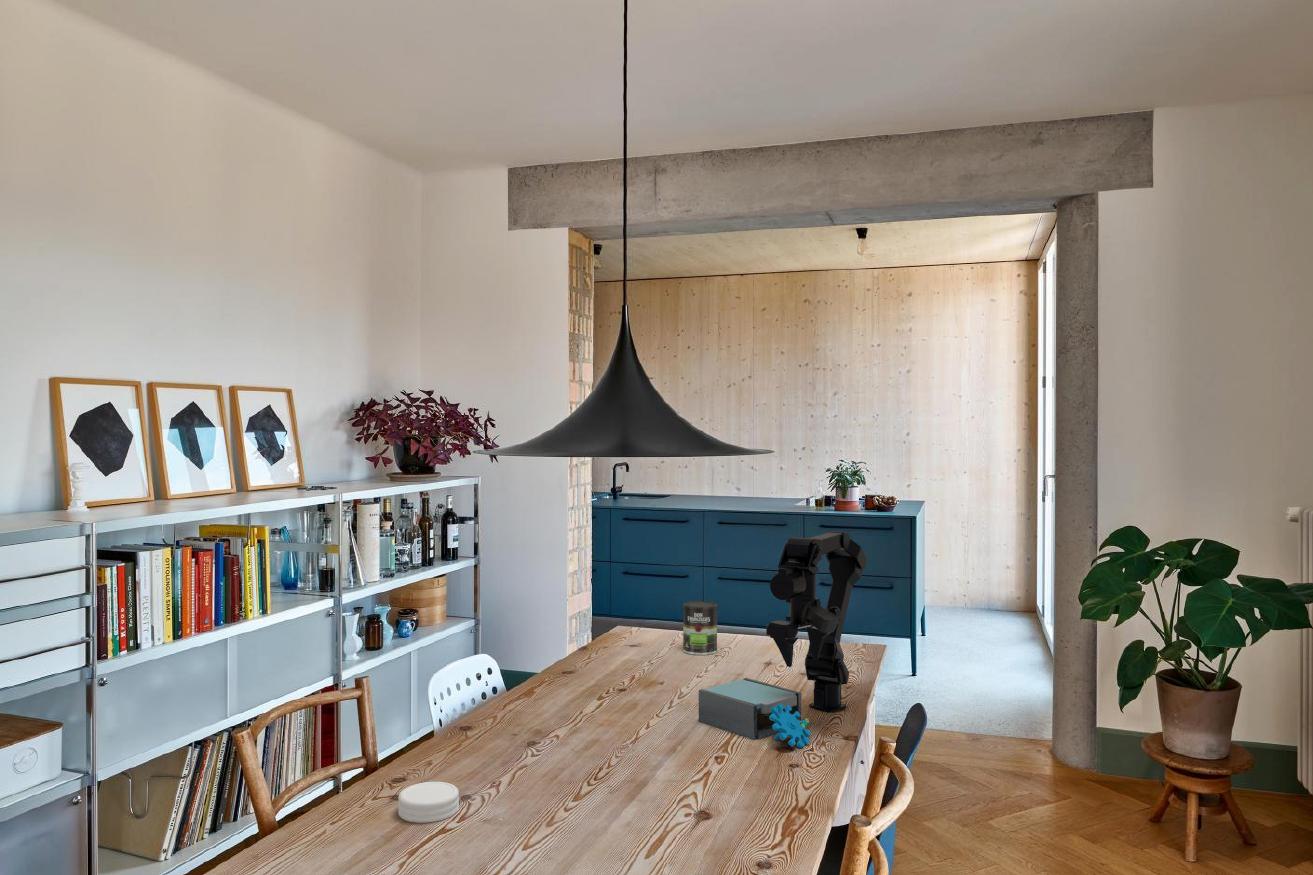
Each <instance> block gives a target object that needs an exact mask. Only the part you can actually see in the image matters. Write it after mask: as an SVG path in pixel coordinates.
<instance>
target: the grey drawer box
mask: <svg viewBox="0 0 1313 875" xmlns="http://www.w3.org/2000/svg"><path fill="white" fill-rule="evenodd" d="M743 680H747V681H751V682H754V683H758V684H762V685H766V686H770V687H774V688H778V689H781V690H785V691H789V692H793V693H796V696H797V705H795V706H792V707H791V708H792V710H791V711H790V712H789V713H790V714H794V713H795V712H796V711H798V712H799V714H800V715H801V716H800V717H799V718H798V720H800V721H802V692H801V691H797V690H793V689H789V688H786V687H782V686H779V685H775V684H770V683H767V682H763V681H759V680H757V679H751V678H749V677H745V678H743ZM703 689H704V688H703ZM703 689H702V688H701V689H698V722H700V723H703V724H705V725H709V726H711V727H714V728H718V729H721V730H723V731H727V732H730V733H733V734H736V735H739V736H742V737H745V738H748V739H751V740H753V741H754V740H756V739H757V740H760V739H763V738H766V737H769V736H772V735H776V734H778V733H779V732H780V730H777V731H775V730H774V729H773V726H772V725H770V726H765V727H763V728H760V729H758V714H760V715H764V716H766V717H767V716H768V717H770V715H771V714H772V713H769V714H764V713H761V708H759V709H757V705H754V704H750V703H747V702H744V701H740V700H737V699H733V698H730V697H727V696H723V695H720V694H716V693H713V692H710V691H706V690H703ZM783 711H784V712H785V709H783ZM778 713H779V711H778Z"/></svg>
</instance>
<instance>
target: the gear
mask: <svg viewBox="0 0 1313 875" xmlns="http://www.w3.org/2000/svg"><path fill="white" fill-rule="evenodd" d="M783 707H784V706H783V704H778V705H776V706H775V707H773V708H772V709H771V712H772V714H771V715H770V716H769V720H770V721H772V722H774V723H773V724H772V725H771V726H773V729H774V730H775V731H777V730H780V732H779V733H776V734H774V736H773V738H774V740H775V741H779V740H781V741H784V740H786V739H787V738H790V740H788V742H787V743H788V745H789V746H790V747H792V748H793V747H795V746H796V747H797V748H799V749H802V748H804V747H805V745H807V744H809V743H810V742H811V740H810V739H809V736H811V731H810V730H809V729H806V727H807V726H808V724H809V723H810V720H809V719H808V718H805V719H803V720H801V721H800V720H798V718H799V717H800V716H801V717H802V714H801V715H800V714H799V712H798V711H796V712H795V713H794V714H790V713H789V712H790V711H791V710H792V708H791V707H790V706H789V705H787V706H786V707H785V712H784V711H783ZM778 711H779V713H778Z"/></svg>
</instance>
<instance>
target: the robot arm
mask: <svg viewBox="0 0 1313 875" xmlns="http://www.w3.org/2000/svg"><path fill="white" fill-rule="evenodd" d="M824 555H825V559H826V560H827V562H828V570H829V573H830V576H831V579H832V582H831V585H830V586H831V587H830V589H829V590H830V591H829V594H828V600H827V603H826V608H825V607H823V606H822V601H821V598H818V597H816V596H817V595H816V594H817V593H816V591H817V590H816V588H817V587H816V586H817V584H816V583H817V581H816V580H817V578H816V577H817V574H816V573H817V572H819V570H820V568H819V567H818V564H819V562H820V561H821V560H822V559H823V556H824ZM866 557H867V556H866V555H865V552H864V550H863V549H862V546H860V545H859V544H858V543H856V542H855V541H854V540H853V539H852V538H851V536H850V535H849V533H847V532H846V531H840V530H839V531H838V530H837V531H836V530H830V531H827V532H825V533H823V534H819V535H815V536H812V537H797V536H795V537H794V536H791V537H789V538H788V539H787V541H786V542H785V545H784V547H783V550H782V553H781V556H780V558H779V562H778V566H777V568H778V571H777V572H778V573H777V574H774V576H773V577H772V578H771V580H770V583H769V588H770V592H771V594H772V595H773V597H774V598H776V599H777V600H780V601H785V603H789V615H786V616H785V620H781V619H779V620H774V621H769V622H768V623H767V624H766V625H765V632H766V633H765V634H766V636H769V638H770V639H773V641H774V643H775V644H776V647H777V648H778V650H779V652H780V655H781V656H782V658H783V661H784V663H785V665H786V667H787V668H792V666H793V660H794V646H795V643H796V642H797V641H798V640H799V637H797V635H798V633H799V631H802V630H806V631H807V637H808V641H809V645H808V650H807V653H806V655H805V658H804V667H805V673H806V679H807V681H813V686H814V688H813V702H811V703H808V707H811V708H814V709H817V710H821V711H825V712H829V713H833V712H834V711H835V712H836V711H838V710H839V711H840V710H841V709H844V708H847V704H845V703H842V685H847V684H848V681H849V679H850V672H849V669H848V668H847V666H846V664H845V662H844V660H845V659H844V658H845V656H844V652H843V649H842V646H841V644H840V643H841V640H842V639H841V637H842V634H843V628H844V625H845V620H846V615H847V612H848V606H849V602H850V598H851V595H852V594H851V593H852V589H853V587H854V585H855V584H857V583H858V582H859V581H860V579H861V578H862V575H863V573H864V570H865V568H866V566H867V558H866Z"/></svg>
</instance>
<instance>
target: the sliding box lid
mask: <svg viewBox="0 0 1313 875" xmlns="http://www.w3.org/2000/svg"><path fill="white" fill-rule="evenodd" d="M743 679H744V678H743ZM743 679H739V680H735V681H731V682H727V683H723V684H719V685H715V686H711V687H707V688H703V690H706V691H710V692H713V693H716V694H720V695H723V696H727V697H730V698H733V699H737V700H740V701H744V702H747V703H750V704H754V705H757V709H759V708H761V713H764V714H769V713H772V712H771V709H772V708H773V707H775V706H776V705H778V704H783V706H784V707H783V709H785V707H786V706H787V705H789V706H790V707H792V706H795V705H797V696H796V693H793V692H789V691H785V690H781V689H778V688H774V687H770V686H766V685H762V684H758V683H754V682H751V681H747V680H743ZM764 714H763V715H764Z"/></svg>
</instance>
